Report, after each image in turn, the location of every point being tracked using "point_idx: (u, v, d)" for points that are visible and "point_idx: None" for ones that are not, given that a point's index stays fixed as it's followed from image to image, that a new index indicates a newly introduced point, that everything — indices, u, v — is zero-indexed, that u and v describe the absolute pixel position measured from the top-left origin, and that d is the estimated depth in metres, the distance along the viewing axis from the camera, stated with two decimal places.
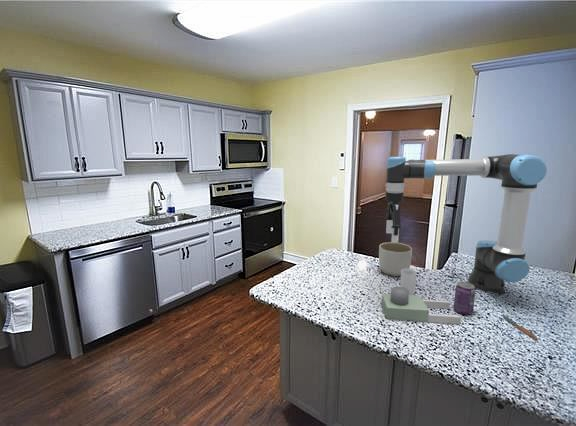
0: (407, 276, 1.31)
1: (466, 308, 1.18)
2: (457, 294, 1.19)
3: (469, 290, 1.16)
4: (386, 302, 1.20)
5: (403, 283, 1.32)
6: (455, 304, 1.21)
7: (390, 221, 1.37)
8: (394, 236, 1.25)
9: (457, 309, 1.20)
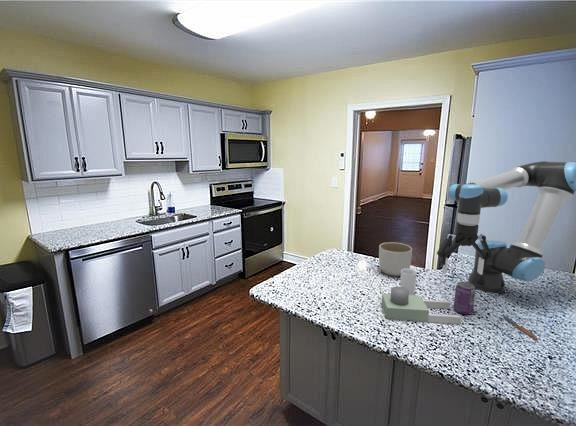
0: (407, 276, 1.31)
1: (466, 308, 1.18)
2: (457, 294, 1.19)
3: (469, 290, 1.16)
4: (386, 302, 1.20)
5: (403, 283, 1.32)
6: (455, 304, 1.21)
7: (480, 259, 1.17)
8: (443, 265, 1.20)
9: (457, 309, 1.20)
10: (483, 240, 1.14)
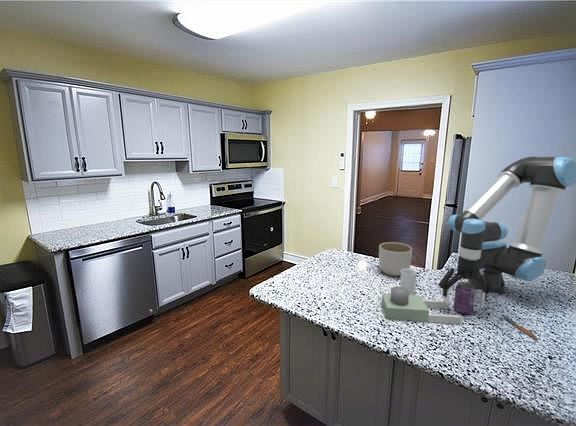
0: (407, 276, 1.31)
1: (466, 308, 1.18)
2: (457, 294, 1.19)
3: (469, 290, 1.16)
4: (386, 302, 1.20)
5: (403, 283, 1.32)
6: (455, 304, 1.21)
7: (481, 292, 1.18)
8: (445, 297, 1.22)
9: (457, 309, 1.20)
10: (484, 274, 1.16)
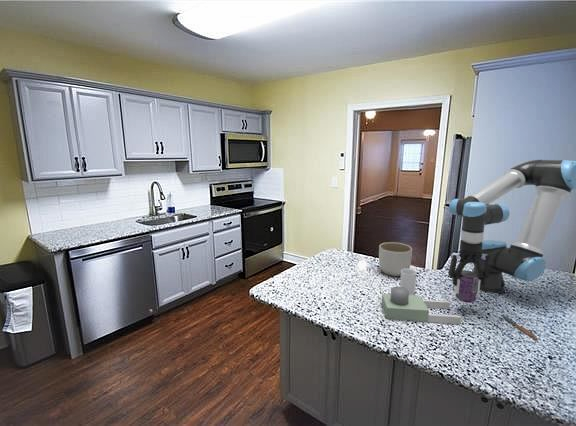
0: (407, 276, 1.31)
1: (469, 296, 1.17)
2: None
3: (471, 278, 1.15)
4: (386, 302, 1.20)
5: (403, 283, 1.32)
6: None
7: None
8: (455, 286, 1.20)
9: (459, 298, 1.19)
10: (486, 259, 1.15)
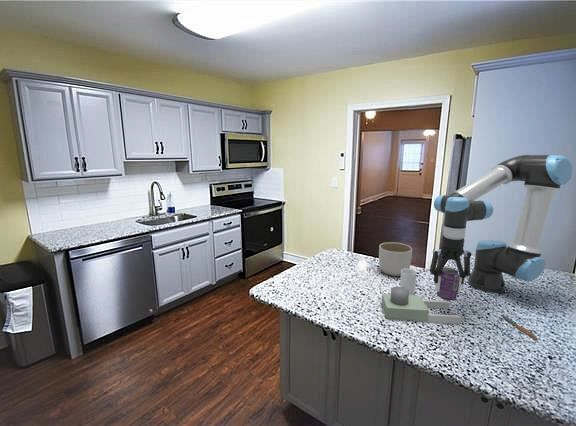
0: (407, 276, 1.31)
1: (450, 294, 1.13)
2: None
3: (452, 275, 1.12)
4: (386, 302, 1.20)
5: (403, 283, 1.32)
6: None
7: None
8: (436, 283, 1.17)
9: (440, 295, 1.16)
10: (467, 256, 1.11)
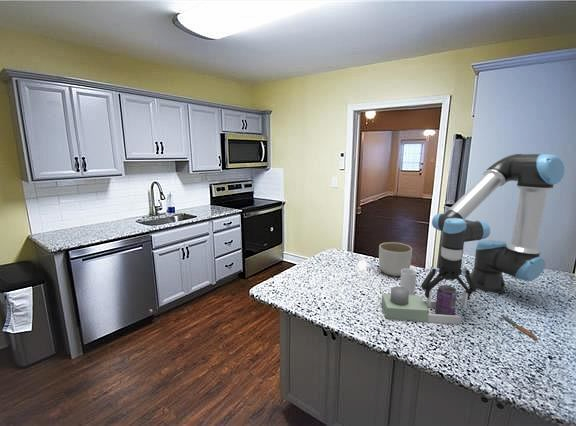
0: (407, 276, 1.31)
1: (448, 312, 1.15)
2: (438, 298, 1.17)
3: (450, 293, 1.14)
4: (386, 302, 1.20)
5: (403, 283, 1.32)
6: (436, 308, 1.18)
7: (464, 293, 1.16)
8: (427, 298, 1.19)
9: (438, 313, 1.17)
10: (467, 274, 1.13)
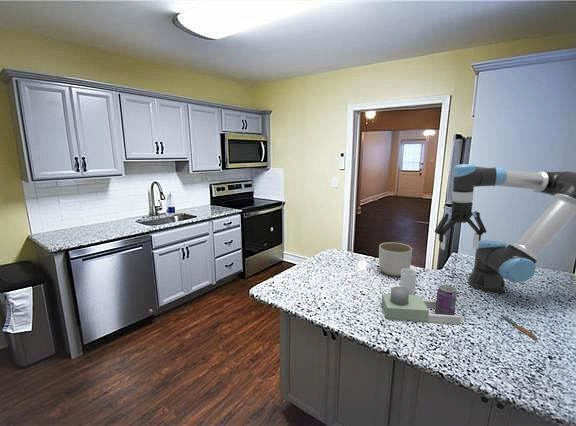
0: (407, 276, 1.31)
1: (448, 312, 1.15)
2: (438, 298, 1.17)
3: (450, 293, 1.14)
4: (386, 302, 1.20)
5: (403, 283, 1.32)
6: (436, 308, 1.18)
7: (475, 235, 1.24)
8: (441, 242, 1.27)
9: (438, 313, 1.17)
10: (477, 216, 1.21)
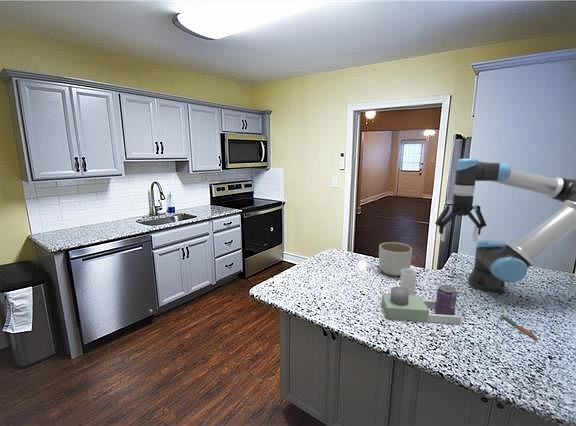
0: (407, 276, 1.31)
1: (448, 312, 1.15)
2: (438, 298, 1.17)
3: (450, 293, 1.14)
4: (386, 302, 1.20)
5: (403, 283, 1.32)
6: (436, 308, 1.18)
7: (475, 228, 1.27)
8: (441, 234, 1.30)
9: (438, 313, 1.17)
10: (478, 210, 1.24)
